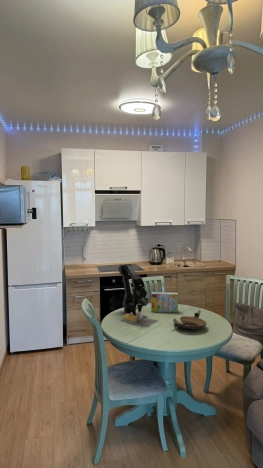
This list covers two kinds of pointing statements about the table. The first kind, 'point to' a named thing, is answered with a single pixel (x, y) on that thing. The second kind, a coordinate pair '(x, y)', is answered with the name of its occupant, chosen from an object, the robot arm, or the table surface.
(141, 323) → the organiser
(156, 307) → the snack box
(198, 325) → the oil lamp
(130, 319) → the amber plug
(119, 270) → the robot arm
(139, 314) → the grey plug
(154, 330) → the table surface
